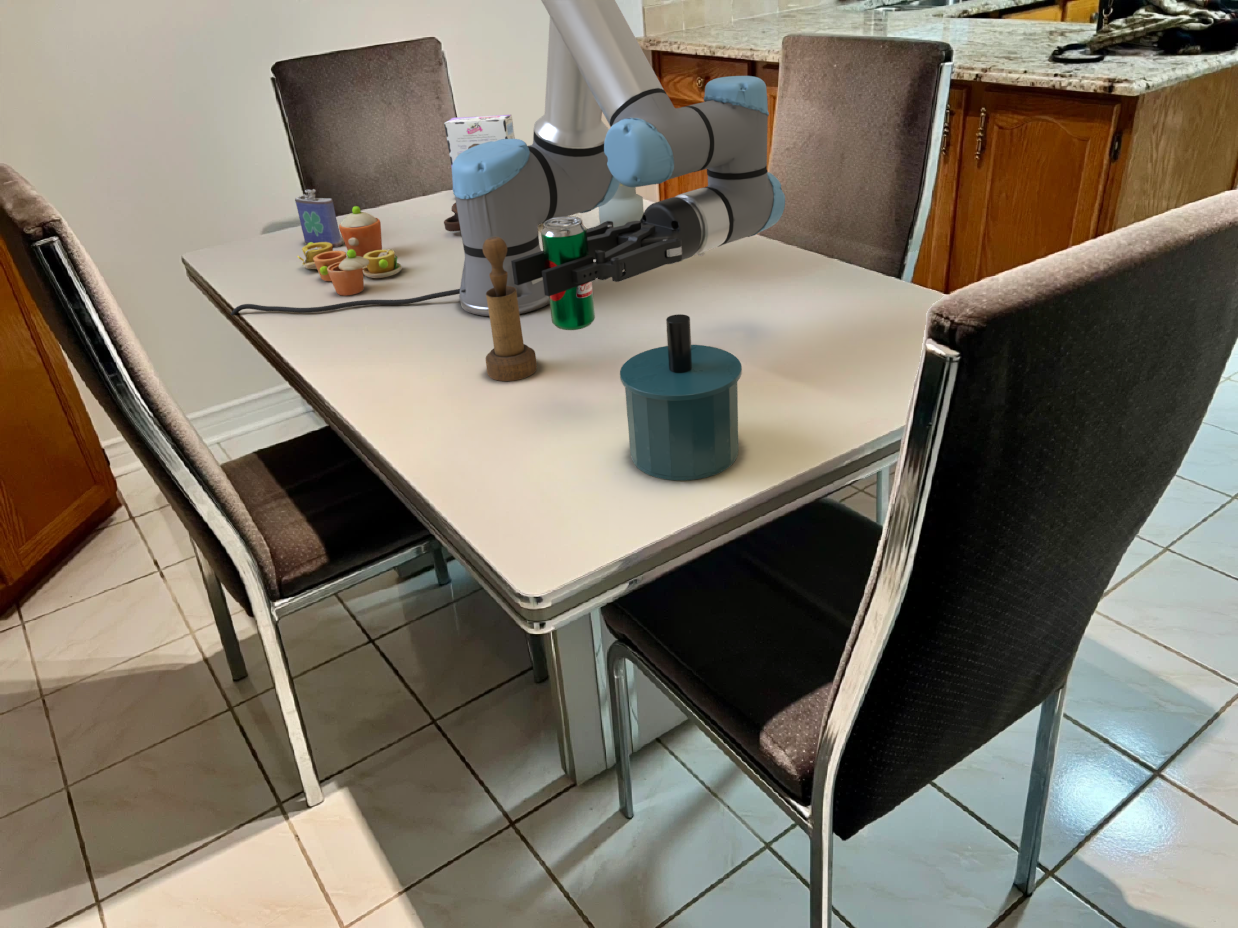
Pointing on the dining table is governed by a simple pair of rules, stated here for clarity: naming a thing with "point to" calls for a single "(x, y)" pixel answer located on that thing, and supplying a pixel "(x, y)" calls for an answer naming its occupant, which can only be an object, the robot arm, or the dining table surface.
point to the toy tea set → (353, 255)
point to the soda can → (560, 246)
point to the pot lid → (680, 367)
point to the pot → (683, 435)
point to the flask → (318, 219)
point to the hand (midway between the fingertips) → (530, 278)
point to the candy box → (476, 132)
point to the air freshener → (622, 207)
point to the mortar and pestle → (505, 322)
